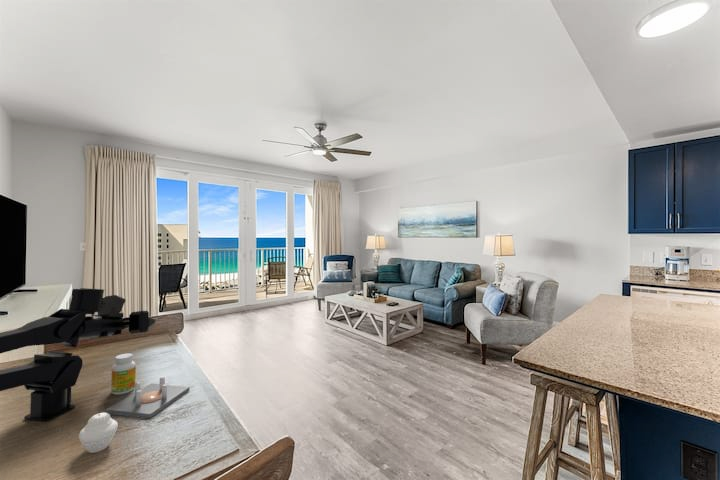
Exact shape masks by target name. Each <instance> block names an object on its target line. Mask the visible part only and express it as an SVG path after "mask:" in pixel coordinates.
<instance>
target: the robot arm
mask: <svg viewBox="0 0 720 480" xmlns="http://www.w3.org/2000/svg"><path fill="white" fill-rule="evenodd" d="M104 293H105V289H103V288H85V287H82V288H73V289H72V290H71V299H70V304H69V308H68V309H67V308H60V309H59V310H56V312H54V313H52V314H50V315H49V316H44V317H41V318H38V319H35V320H33V321H30V322H28V323H26V324H24V325H22V326H20V327H18V328H15V329H10V330H6V331H2V332H0V354H3V353H8V352H11V351H15V350H19V349H22V348H25V347H32V346H46V345H54V344H55V345H56V344H61V343H62V346H63V347H67V348H77V347H78V345H79V340H81V339H90V340H91V339H100V338H105V337H106V338H107V337H109V336H116V335H122V331H123V330H125V329H127V328H128V332H129V333H130V334H131V335H133V334H134V335H135V334H142V333H147V332H148V331H149V328H150V327H152V326H153V325H154V324H156V319H154V318H151V317H150V316H149V315H150V312H149V311H148V310H139V311H132V312H131V313H130V314H129V315H128V317H127V316H126V317H124V314H125V313H124V312H122V310H123V308H124V305H125V304H126V299H125V298H123V297H122V296H120V295H117V294H112V295H107V296H105V297H104V295H105V294H104ZM96 313H97V314H96ZM86 315H87V316H86ZM83 363H84V362H83V359H82V358H81V356H80V355H74V354H73V353H72V352H62V351H55V350H50V351H48V352H47V353H41V354H40V353H39V354H34V355H33V360H32V361H31V362H29V363H27V364H24V365H18V366H13V367H11V368H5V369H0V392H3V391H6V390H11V389H15V388H18V387H23V386H24V389H25V390H27V391H32V392H30V405H29V406H30V408H29V409H30V410H29V412H30V413H29V414H26V415H24V417H23V418H24V419H25V420H32V421H34V420H35V421H41V422H48V421H50V420H53V419H54V418H56V417H58V416H60V415H62V414H64V413H66V412H68V411H70V410H72V409H74V408H76V404H71V403H72V387H74V386H76V383H77V381H78V378H79V375H80V373H81V370H82V369H83V368H82V367H83Z"/></svg>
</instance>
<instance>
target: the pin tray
mask: <svg viewBox="0 0 720 480" xmlns="http://www.w3.org/2000/svg"><path fill="white" fill-rule="evenodd" d="M165 381H166V377H165V376H161V377H159V383H150V384H148V385H146V386H144V387H143V388H141V385H142V384H141V383H142V382H141V381H137V382H136V381H135V388H134V393H132V394H131V395H129V396H126V397H125V398H123V399H121V400H120V401H118V402H116V403H114V404H113V405H111V406H109V407H107V408H105V413H108V414H109V415H116V416H126V417H135V418H144V419H151V418H153V417H154V416H155V415H157V414H158V413H160V412H161V411H163V410H164V409H165V408H167V407H168V406H169V405H171V404H173V403H174V402H176V401H177V400H178V399H180V398H181V397H182V396H184V395H185V394H187V393H188V392H189V391H190V386H183V385H181V386H180V385H171V384H169V385H168V384H167V383H166V382H165Z"/></svg>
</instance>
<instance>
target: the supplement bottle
mask: <svg viewBox="0 0 720 480" xmlns="http://www.w3.org/2000/svg"><path fill="white" fill-rule="evenodd" d="M114 362H115V364H113V365H112V368H111V383H110V385H111V387H110V389H111V390H110V392H111V394H113V395H124V394H128V393H130V392H131V391H133V390H135V383H136V372H137V371H136V368H137V364H136V362H135V361H134V354H133V353H122V354H118V355H116V356H115V359H114Z"/></svg>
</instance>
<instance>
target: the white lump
mask: <svg viewBox="0 0 720 480" xmlns="http://www.w3.org/2000/svg"><path fill="white" fill-rule="evenodd" d="M118 426H119V424H118V421H117V420H116V419H113V418H112V417H111V414H108V413H106V412H100V413H96V414H94V415H92V416H91V417H90V418H89V419H88V420H87V423H86V425H85V426H84V427H83V428H82V429H81V430H80V432H79V434H78V440H79V441H80V444H81V445H82V446H83V447H84V448H85V450H86V451H87V452H88V453H90V454H93V453H99V452H101V451H104V450H106V448H108V446H109V445H110V443H111V441H112V439H113V437H115V435H116V432H117V429H118Z"/></svg>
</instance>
